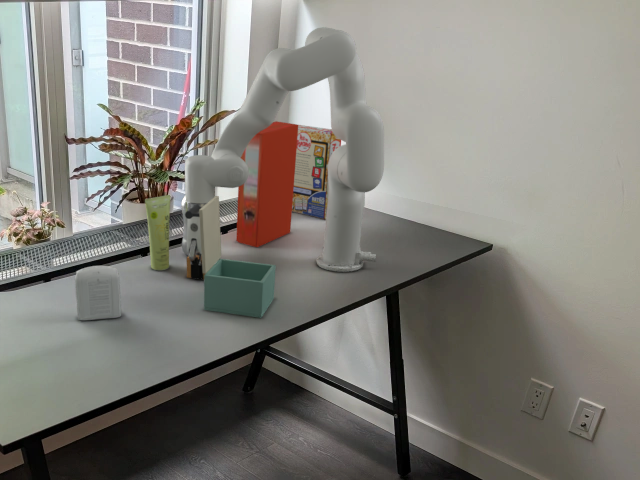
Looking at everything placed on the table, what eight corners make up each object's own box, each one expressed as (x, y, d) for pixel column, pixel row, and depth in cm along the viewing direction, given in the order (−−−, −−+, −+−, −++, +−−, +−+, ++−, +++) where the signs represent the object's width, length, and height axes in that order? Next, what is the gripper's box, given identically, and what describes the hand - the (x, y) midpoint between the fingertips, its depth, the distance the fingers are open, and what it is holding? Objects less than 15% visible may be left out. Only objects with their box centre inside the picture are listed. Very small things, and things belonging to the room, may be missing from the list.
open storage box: (273, 298, 179) (275, 264, 175) (261, 318, 169) (263, 282, 165) (219, 291, 183) (219, 258, 179) (204, 310, 174) (204, 275, 169)
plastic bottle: (196, 260, 203) (195, 188, 193) (176, 255, 207) (175, 184, 197) (209, 253, 208) (210, 183, 198) (190, 249, 211) (190, 179, 201)
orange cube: (214, 273, 194) (214, 254, 191) (208, 280, 190) (208, 260, 187) (192, 271, 196) (192, 251, 193) (186, 277, 192) (186, 257, 189)
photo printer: (120, 311, 173) (117, 261, 167) (122, 318, 170) (120, 268, 164) (76, 315, 171) (72, 265, 165) (78, 322, 168) (74, 271, 162)
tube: (164, 272, 195) (163, 200, 185) (147, 270, 197) (144, 198, 187) (171, 265, 200) (170, 194, 190) (154, 263, 201) (152, 192, 192)
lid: (218, 196, 172) (197, 195, 173) (202, 209, 162) (179, 209, 164) (221, 256, 179) (200, 255, 180) (205, 273, 169) (183, 272, 171)
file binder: (291, 233, 224) (298, 124, 208) (258, 247, 212) (263, 133, 196) (269, 228, 228) (274, 121, 212) (236, 242, 217) (239, 130, 201)
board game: (335, 216, 239) (343, 130, 226) (324, 220, 235) (332, 133, 222) (285, 204, 251) (290, 122, 238) (273, 208, 247) (278, 124, 234)
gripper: (203, 217, 176) (203, 288, 185) (224, 199, 189) (223, 265, 198) (174, 215, 178) (175, 284, 187) (197, 196, 192) (197, 262, 201)
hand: (200, 274), depth 193 cm, fingers closed on orange cube, 4 cm apart
